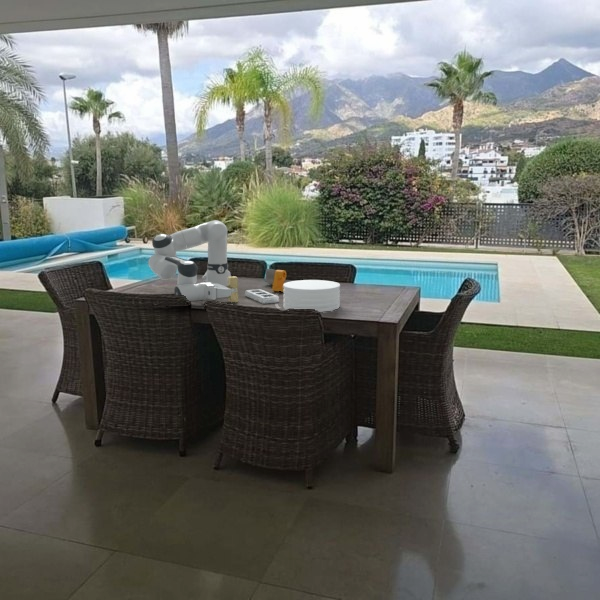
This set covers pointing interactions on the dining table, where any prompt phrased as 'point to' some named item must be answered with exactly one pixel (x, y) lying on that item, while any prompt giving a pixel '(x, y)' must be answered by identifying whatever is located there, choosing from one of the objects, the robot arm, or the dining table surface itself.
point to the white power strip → (262, 296)
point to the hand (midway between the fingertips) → (233, 288)
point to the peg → (232, 284)
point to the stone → (270, 276)
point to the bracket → (279, 280)
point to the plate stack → (311, 295)
